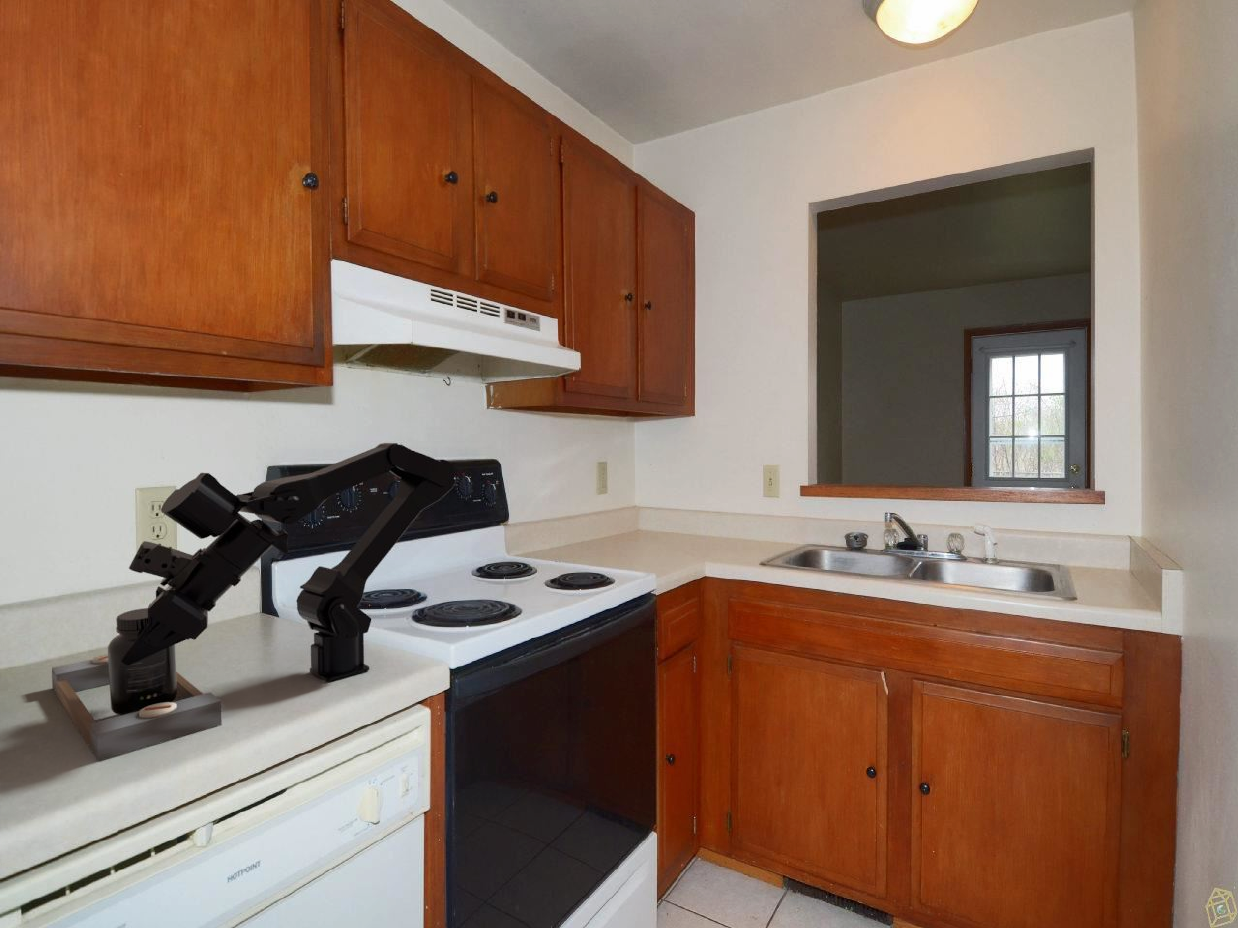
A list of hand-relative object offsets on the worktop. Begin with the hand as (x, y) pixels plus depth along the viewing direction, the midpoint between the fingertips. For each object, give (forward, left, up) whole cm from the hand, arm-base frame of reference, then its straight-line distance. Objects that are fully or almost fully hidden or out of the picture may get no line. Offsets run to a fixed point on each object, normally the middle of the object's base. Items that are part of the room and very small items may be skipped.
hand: (128, 654), depth 80 cm
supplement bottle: (-2, 0, -7) cm, 7 cm away
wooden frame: (-1, -5, -8) cm, 10 cm away
